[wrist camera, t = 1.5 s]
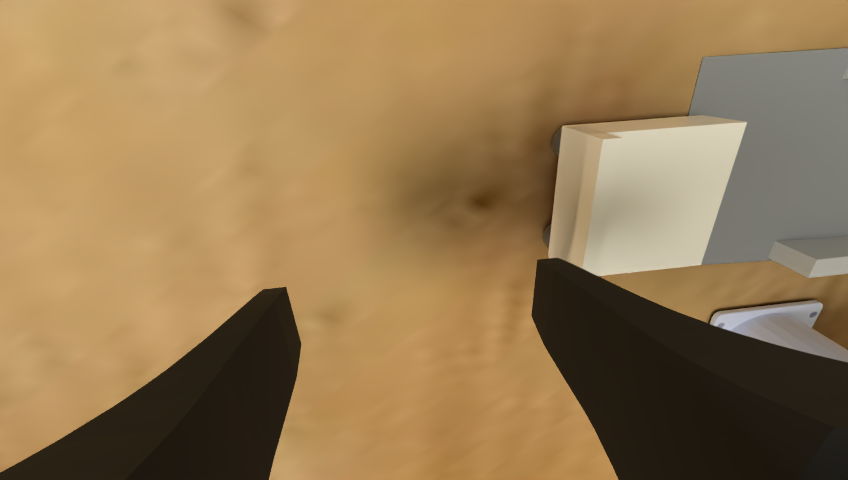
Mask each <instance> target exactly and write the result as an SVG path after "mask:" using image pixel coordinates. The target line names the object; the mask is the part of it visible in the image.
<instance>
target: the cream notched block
mask: <svg viewBox="0 0 848 480" xmlns="http://www.w3.org/2000/svg"><path fill="white" fill-rule="evenodd" d="M746 124H747V122H744V121H738V120H731V119H725V118H718V117H712V116H705V115H696V116H683V117H670V118H657V119H644V120H631V121H618V122H605V123H592V124H578V125H565V126H562V128H560V129H559V130H558V131H557V132H556V133H555V135H554V137H553V140H552V147H553V150H554V152H555V153H556V154H557V155H558V156H559V160H558V169H557V178H556V187H555V197H554V206H553V215H552V224H550V225H549V226H548V227H547V228H546V229H545V230H544V233H543V241H544V243H545V245H546V246H547V247H548V248H549V252H548V257H549V258H560V259H562V260H565V261H567V262H570V263H572V264H574V265H576V266H578V267H580V268H582V269H584V270H586V271H588V272H590V273H592V274H594V275H596V276H603V275H613V274H622V273H631V272H641V271H650V270H659V269H669V268H678V267H687V266H697V265H701V263H702V260H703V257H704V254H705V251H706V248H707V244H708V241H709V238H710V235H711V232H712V229H713V226H714V223H715V220H716V217H717V214H718V211H719V207H720V204H721V201H722V198H723V195H724V192H725V189H726V186H727V183H728V180H729V177H730V174H731V171H732V167H733V164H734V161H735V158H736V155H737V152H738V149H739V146H740V143H741V140H742V137H743V134H744V130H745V127H746Z"/></svg>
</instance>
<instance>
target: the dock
mask: <svg viewBox="0 0 848 480" xmlns="http://www.w3.org/2000/svg"><path fill="white" fill-rule="evenodd" d="M696 115H705V116H712V117H718V118H725V119H731V120H738V121H744V122H747V124H746V127H745V130H744V134H743V137H742V140H741V143H740V146H739V149H738V152H737V155H736V158H735V161H734V164H733V167H732V171H731V174H730V177H729V180H728V183H727V186H726V189H725V192H724V195H723V198H722V201H721V204H720V207H719V211H718V214H717V217H716V220H715V223H714V226H713V229H712V232H711V235H710V238H709V241H708V244H707V248H706V251H705V254H704V257H703V260H702V263H701V265H706V264H723V263H739V262H756V261H772V260H773V261H775V262H777V263H779V264H781V265H783V266H785V267H787V268H789V269H791V270H793V271H795V272H797V273H799V274H801V275H803V276H805V277H807V278H813V277H822V276H831V275H840V274H848V48H836V49H821V50H805V51H790V52H774V53H759V54H743V55H728V56H712V57H703V58H702V61H701V65H700V69H699V73H698V77H697V81H696V85H695V89H694V93H693V97H692V101H691V105H690V109H689V113H688V116H696Z"/></svg>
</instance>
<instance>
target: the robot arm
mask: <svg viewBox="0 0 848 480" xmlns="http://www.w3.org/2000/svg"><path fill="white" fill-rule="evenodd" d="M822 308H823V304H822V303H820V302H819V301H817V300H811V301H802V302H794V303H785V304H777V305H768V306H760V307H751V308H742V309H734V310H725V311H719V312H716V313H715V314H714V315H713V316H712V319H711V322H710V324H708V323H706V322H703V321H700V320H697V319H695V318H692V317H689V316H686V315H684V314H681V313H678V312H676V311H673V310H671V309H668V308H666V307H664V306H661V305H659V304H657V303H654V302H652V301H650V300H647V299H645V298H643V297H640V296H638V295H636V294H634V293H632V292H630V291H627V290H625V289H623V288H621V287H619V286H617V285H615V284H613V283H611V282H609V281H607V280H605V279H603V278H600V277H598V276H596V275H594V274H592V273H590V272H588V271H586V270H584V269H582V268H580V267H578V266H576V265H574V264H572V263H570V262H567V261H565V260H562V259H560V258H549V259H540V260H537V269H536V278H535V288H534V298H533V307H532V318H533V320H534V323H535V325H536V328H537V330H538V332H539V334H540V337H541V339H542V341H543V343H544V345H545V347H546V349H547V351H548V352H549V354H550V356H551V357H552V359H553V361H554V362H555V364H556V366H557V367H558V369H559V371H560V372H561V374H562V375H563V377H564V379H565V380H566V382H567V384H568V385H569V387H570V388H571V390H572V392H573V393H574V395H575V397H576V398H577V400H578V401H579V403H580V405H581V406H582V408H583V410H584V411H585V413H586V415H587V416H588V418H589V420H590V422H591V424H592V425H593V427H594V429H595V431H596V433H597V435H598V437H599V439H600V441H601V443H602V445H603V448H604V450H605V452H606V454H607V456H608V458H609V460H610V462H611V464H612V466H613V468H614V470H615V473H616V475H617V477H618V479H619V480H848V350H847V349H845V348H844V347H842V346H840V345H839V344H837V343H836V342H834V341H832V340H831V339H829V338H827V337H826V336H824V335H822V334H821V333H819V332H818V331H816V330H814V329H813V328H812V327H813V325H814V323H815V321H816V319H817V317H818V315H819V313H820V312H821V310H822ZM300 349H301V341H300V338H299V334H298V330H297V326H296V323H295V319H294V315H293V311H292V308H291V304H290V300H289V296H288V293H287V289H286V287H282V288H273V289H263V290H262V291H261V292H259V293H258V294H257V295H256V296H254V297H253V298H252V299H251V300H250V301H249V302H247V303H246V304H245V305H244V306H243V307H242V308H241V309H240V310H238V311H237V312H236V313H235V314H234V315H233V316H232V317H230V318H229V319H228V320H227V321H226V322H225V323H223V324H222V325H221V326H220V327H219V328H218V329H217V330H215V331H214V332H213V333H212V334H211V335H210V336H208V337H207V338H206V339H205V340H203V341H202V342H201V343H200V344H198V345H197V346H196V347H195V348H193V349H192V350H191V351H190V352H188V353H187V354H186V355H185V356H183V357H182V358H181V359H180V360H178V361H177V362H176V363H175V364H173V365H172V366H171V367H170V368H168V369H167V370H166V371H164V372H163V373H161V374H160V375H159V376H157V377H156V378H155V379H153V380H152V381H150V382H149V383H148V384H146V385H145V386H143V387H142V388H140V389H139V390H137V391H136V392H134V393H133V394H132V395H130V396H129V397H127V398H126V399H124V400H123V401H121V402H120V403H118V404H117V405H115V406H114V407H112V408H110V409H109V410H107V411H105V412H104V413H102V414H101V415H99V416H97V417H96V418H94V419H92V420H91V421H89V422H87V423H86V424H84V425H83V426H81V427H79V428H78V429H76V430H74V431H73V432H71V433H70V434H68V435H66V436H65V437H63V438H61V439H60V440H58V441H56V442H55V443H53V444H51V445H49V446H48V447H46V448H44V449H42V450H41V451H39V452H37V453H35V454H33V455H32V456H30V457H28V458H26V459H25V460H23V461H21V462H19V463H17V464H16V465H14V466H12V467H10V468H8V469H6V470H4V471H2V472H1V473H0V480H269V476H270V472H271V468H272V464H273V460H274V456H275V452H276V449H277V445H278V442H279V438H280V435H281V431H282V428H283V424H284V421H285V417H286V414H287V410H288V407H289V403H290V399H291V396H292V392H293V388H294V385H295V381H296V377H297V371H298V364H299V357H300Z"/></svg>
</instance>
